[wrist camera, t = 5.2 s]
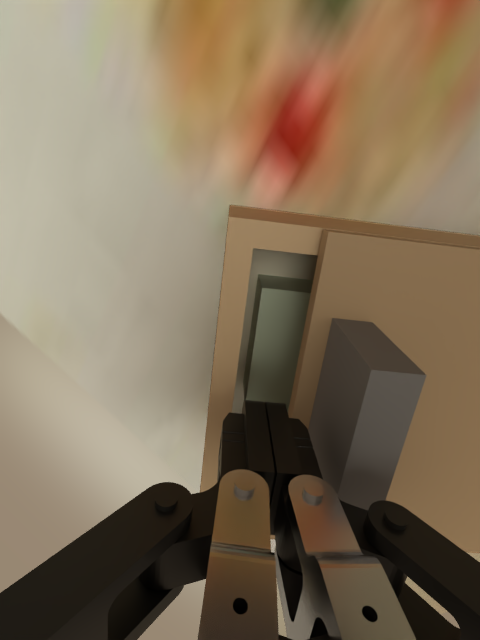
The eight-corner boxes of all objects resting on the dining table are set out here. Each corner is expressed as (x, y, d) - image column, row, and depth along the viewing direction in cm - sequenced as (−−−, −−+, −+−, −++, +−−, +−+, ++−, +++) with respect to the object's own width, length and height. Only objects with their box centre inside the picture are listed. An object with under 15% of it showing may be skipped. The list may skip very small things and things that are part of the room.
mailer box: (565, 246, 22) (739, 278, 14) (484, 440, 27) (583, 541, 19) (229, 204, 21) (229, 216, 13) (207, 416, 25) (197, 513, 18)
